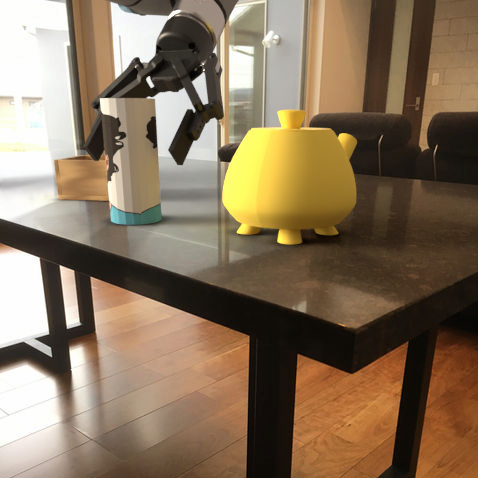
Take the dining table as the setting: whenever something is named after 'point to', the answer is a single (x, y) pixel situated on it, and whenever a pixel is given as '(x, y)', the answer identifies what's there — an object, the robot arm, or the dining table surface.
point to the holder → (81, 178)
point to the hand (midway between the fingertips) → (131, 156)
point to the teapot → (291, 179)
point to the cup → (131, 159)
